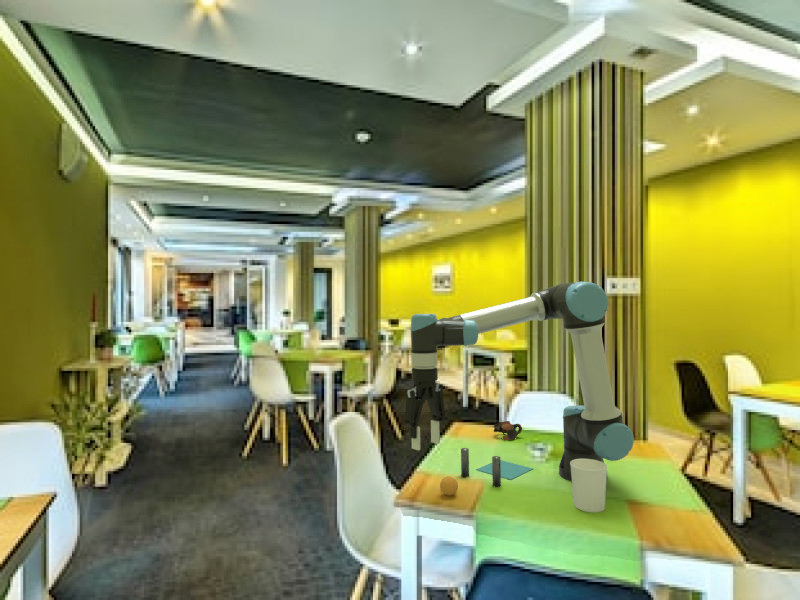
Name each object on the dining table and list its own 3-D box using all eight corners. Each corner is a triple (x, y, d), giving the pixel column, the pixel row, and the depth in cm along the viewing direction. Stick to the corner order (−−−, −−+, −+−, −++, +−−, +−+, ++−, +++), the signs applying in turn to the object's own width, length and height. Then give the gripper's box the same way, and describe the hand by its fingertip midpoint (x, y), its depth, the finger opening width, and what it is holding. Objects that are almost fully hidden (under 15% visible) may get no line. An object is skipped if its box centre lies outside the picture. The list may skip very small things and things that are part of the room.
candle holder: (566, 499, 141) (565, 458, 141) (599, 499, 141) (599, 458, 141) (577, 514, 132) (576, 470, 132) (613, 513, 131) (612, 470, 131)
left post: (470, 475, 162) (470, 449, 162) (465, 477, 160) (465, 450, 160) (464, 473, 163) (464, 447, 164) (459, 475, 162) (459, 449, 162)
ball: (461, 494, 146) (461, 476, 146) (450, 500, 142) (450, 481, 142) (448, 489, 150) (447, 472, 150) (436, 495, 146) (436, 477, 146)
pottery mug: (498, 443, 200) (491, 423, 204) (497, 447, 208) (491, 428, 212) (526, 435, 200) (519, 416, 203) (524, 439, 208) (517, 421, 212)
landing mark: (533, 469, 167) (533, 468, 167) (510, 480, 157) (510, 479, 157) (499, 460, 177) (499, 459, 177) (476, 469, 167) (476, 469, 167)
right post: (502, 485, 153) (502, 457, 153) (497, 487, 151) (497, 459, 151) (495, 483, 154) (495, 455, 154) (491, 485, 153) (490, 457, 153)
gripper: (438, 362, 149) (439, 436, 149) (389, 369, 135) (391, 451, 135) (456, 364, 144) (458, 440, 143) (408, 372, 129) (410, 457, 129)
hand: (425, 445), depth 139 cm, fingers open, 8 cm apart
